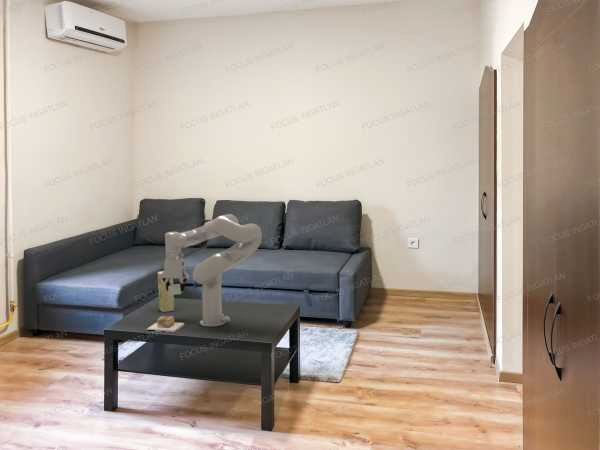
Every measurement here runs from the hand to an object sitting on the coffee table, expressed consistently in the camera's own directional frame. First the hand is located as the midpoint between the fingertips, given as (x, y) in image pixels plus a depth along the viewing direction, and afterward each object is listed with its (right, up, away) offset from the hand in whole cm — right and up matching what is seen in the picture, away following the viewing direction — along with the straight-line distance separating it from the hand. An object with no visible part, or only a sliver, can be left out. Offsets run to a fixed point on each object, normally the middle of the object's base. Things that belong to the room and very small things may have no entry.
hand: (175, 290), depth 287 cm
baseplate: (-2, -17, -12) cm, 21 cm away
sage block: (0, -1, 0) cm, 1 cm away
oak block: (-2, -16, -12) cm, 20 cm away
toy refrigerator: (-10, -13, +21) cm, 27 cm away
